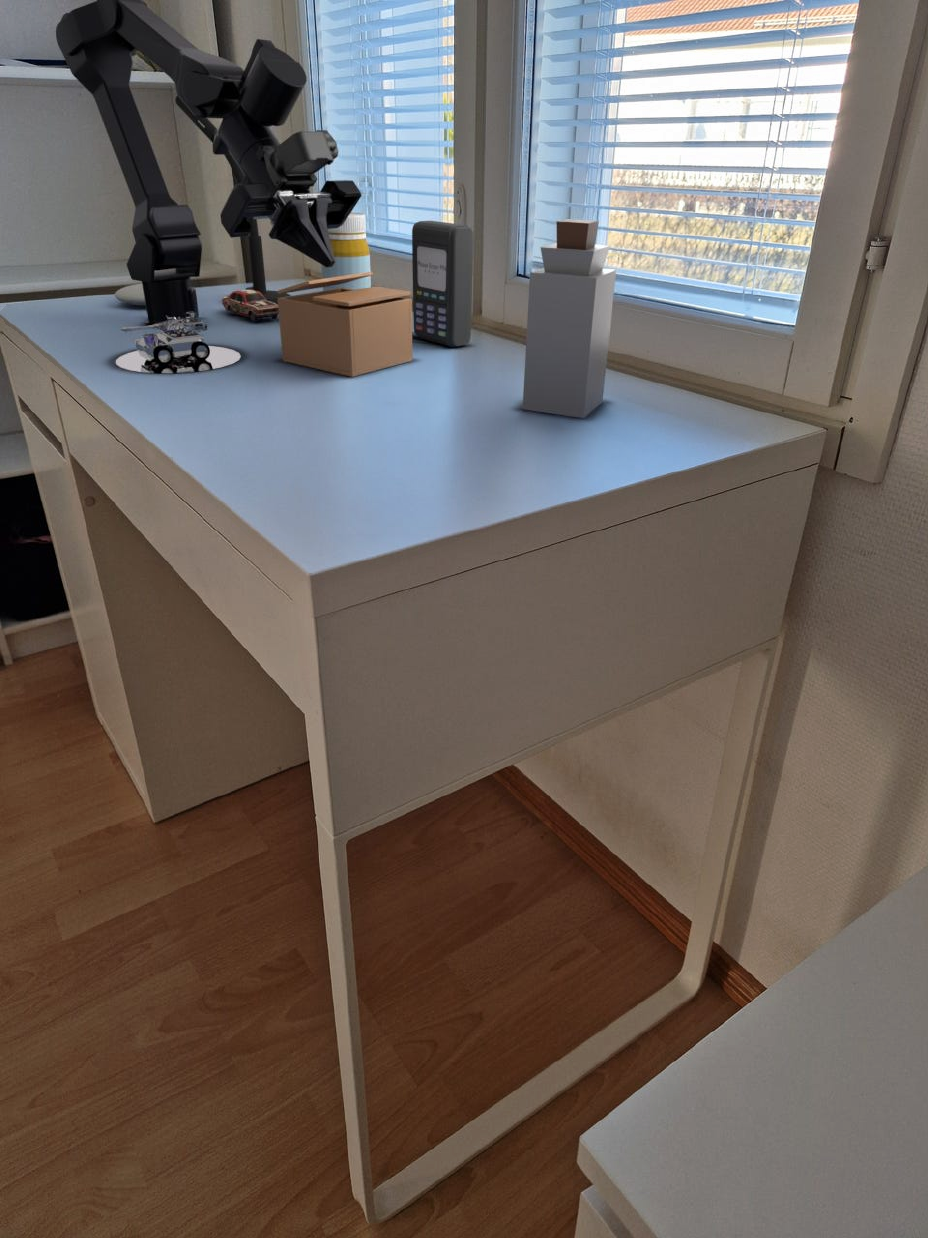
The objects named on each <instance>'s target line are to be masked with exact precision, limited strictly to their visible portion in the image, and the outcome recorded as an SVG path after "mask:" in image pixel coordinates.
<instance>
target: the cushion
mask: <svg viewBox="0 0 928 1238" xmlns="http://www.w3.org/2000/svg"><path fill="white" fill-rule="evenodd" d="M114 298H115V299H116V300H118V301H119V302H122V303H124V304H128V305H134V306H143V307H146V304H145V298H144V291H143V285H142V283H137V284H131V285H127V286H124V287H121V288H120V289H118V290H117V291H115V292H114Z"/></svg>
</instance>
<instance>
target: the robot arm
mask: <svg viewBox="0 0 928 1238" xmlns="http://www.w3.org/2000/svg"><path fill="white" fill-rule="evenodd" d="M55 39H56V43H57V46H58V49H59V50H60V52H61V54H62V56H63V59H64V60H65V62H66V64H67V67H68V68H69V70H70V73H71V75H72V76H73V77H74V78H75V79H76V80H77V81H78V82H79V83H80V85H82V86H83V87H84V88H85V89H86V90H87V91H88V92H89V93H90V94H91V95H92V97H93V99H94V101H95V104H96V107H97V109H98V112H99V115H100V118H101V120H102V123H103V125H104V128H105V130H106V133H107V136H108V138H109V141H110V143H111V147H112V149H113V152H114V154H115V156H116V159H117V162H118V164H119V167H120V170H121V172H122V175H123V178H124V181H125V183H126V186H127V188H128V190H129V194H130V196H131V200H132V201H133V204H134V208H135V209H134V216H133V219H132V220H133V221H132V226H131V231H132V234H133V239H134V241H135V244H134V245H133V248H132V250H131V253H130V255H129V258H128V260H127V262H126V267H127V268H126V269H127V270H128V274H129V276H130V279H131V280H132V281H138V282H141V284H142V285H143V291H144V298H145V304H146V306H145V311H146V315H147V320H146V321H145V322H144V326H148V325H154V324H158V323H159V322H163V321H167V317H166V316H168V317H175V318H178V317H180V319H182V318H186V317H185V316H189V314H187V313H186V312H193V311H194V312H195V314H194V317H196V318H198V319H199V318H200V317H199V316H200V311H199V305H198V298H197V297H198V296H197V291H196V288H195V287H192V283H191V282H192V281H191V278H199V277H200V275H201V264H202V254H203V245H202V241H201V238H200V236H201V234H202V233H201V231H200V230H199V228H198V227H197V223H196V221H195V217H194V214H193V211H192V209H191V208H190V206H189V205H188V204H178V203H177V202H176V201H175V200H174V199H173V198H172V197H171V195H170V192H169V190H168V187H167V184H166V181H165V179H164V177H163V173H162V170H161V168H160V165H159V162H158V160H157V157H156V154H155V152H154V149H153V146H152V143H151V141H150V138H149V135H148V132H147V130H146V127H145V124H144V121H143V119H142V115H141V114H140V111H139V107H138V105H137V102H136V100H135V97H134V95H133V92H132V89H131V86H130V84H131V83H130V82H131V76H132V73H133V72H132V71H133V65H134V62H133V57H132V54H133V53H134V52H136V51H138V52H139V53H140V54H142V55H143V56H144V57H145V58H146V59H147V60H149V61H150V62H151V63H152V64H154V65H155V66H156V67H157V68H158V69H159V70H160V71H162V72H163V73H164V74H165V75H166V76H168V77H169V78H170V79H171V80H172V81H173V83H174V85H175V92H176V96H177V95H178V96H179V98H180V99H181V100H182V101H183V102H184V104H185V105H186V106H187V107H188V108H189V110H190V111H191V112H192V113H193V114H194V115H195V116H197V117H199V118H207V119H222V120H221V122H220V124H219V127H218V128H217V129H215V130H214V141H213V143H212V154H213V155H214V156H216V155H217V156H221V155H222V156H225V155H232V157H233V158H234V160H235V161H236V163H237V164H238V166H239V168H240V169H241V171H242V172H243V174H244V178H243V180H242V182H241V184H238V183H234V184H233V185H234V186H233V188H232V190H231V191H230V194H229V195H228V197H227V199H226V201H225V203H224V206H223V207H222V209H221V211H220V223H221V225H222V226H223V228H224V230H225V231H226V233H227V234H228V236H229V237H230V238H242V237H244V238H245V237H248V236H250V230H251V225H250V224H249V222H248V218H249V217H252V218H253V219H257V220H265V219H266V220H267V219H268V220H270V222H269V223H270V224H271V226H272V227H271V229H270V231H269V232H268V237H269V238H270V239H271V240H277V241H279V242H281V243H283V244H285V245H287V246H288V247H290V248H292V249H294V250H296V251H297V252H300V253H301V254H303V255H305V256H306V257H308V258H309V259H311V260H314V261H315V262H316V263H318V264H320V266H322V265H323V266H325V267H327V268H328V267H332V266H333V265H334V263H335V258H334V254H333V250H332V246H331V242H330V238H329V234H328V229H333V228H339V227H340V226H342V225H343V224H344V222H345V221H346V219H347V217H348V216H349V214H350V213H351V212H353V210H354V209H355V207H356V205H357V204H358V202H359V201H360V200H361V197H362V191H361V190H360V189H359V188H358V186H357V184H356V183H355V181H354V180H351V179H350V180H349V179H339V180H338V179H335V180H326V181H325V182H324V184H323V186H322V187H321V189H320V191H319V192H311V190H310V188H311V187H314V186H315V184H316V183H317V181H318V177H317V176H316V173H317V172H319V171H320V170H322V169H324V168H325V167H326V166H327V165H328V166H330V165H332V164H333V163H334V160H336V159H337V158H338V157H339V149H338V148H339V147H338V143H337V141H336V140H335V139H334V138H333V136H332V134H330V133H329V130H327V129H317V130H315V131H313V130H312V131H311V130H310V131H309V130H302V131H297V132H295V133H293V134H291V135H290V136H289V137H287V138H286V139H285V140H284V141H282V142H280V141H279V139H278V138H277V137H276V135H275V134H274V132H273V130H272V129H271V127H280V126H283V125H284V124H286V121H287V120H288V118H289V117H290V114H291V112H292V111H293V108H294V107H295V105H296V103H297V101H298V99H299V97H300V95H301V93H302V91H303V89H304V87H305V86H306V83H307V81H308V80H307V74H306V71H305V69H304V68H303V66H302V65H301V63H299V61H296V60H295V59H294V58H293V57H292V56H291V55H289V54H288V53H286V52H285V51H283V50H281V49H280V48H277V47H276V46H275V44H274V43H273V41H272V40H269V39H260V38H257V39H256V40H255V41H254V45H253V47H252V50H251V53H250V57H249V59H248V62H247V63H246V66H245V68H244V69H243V68H242V67H241V66H239V65H238V64H235V63H233V62H232V61H230V60H227V59H225V58H224V57H220V56H218V55H214V54H211V53H210V52H209V53H208V52H206V51H204V50H201V49H199V48H198V47H197V46H195V45H194V43H192V42H191V41H189V40H188V39H187V38H186V37H185V36H183V35H182V34H181V33H179V32H178V31H177V30H176V29H175V28H174V27H172V26H171V25H170V24H168V22H166V21H165V20H164V19H163V18H161V17H160V16H159V15H158V14H156V12H154V11H153V10H152V9H150V8H149V7H148V4H147V3H146V1H144V0H94V1H92V2H90V3H87V4H84V5H82V6H79V7H76V8H74V9H72V10H70V11H69V12H65V13H64V14H63V15H62V16H61V19H60V21H59V22H58V23H57V25H56V27H55Z"/></svg>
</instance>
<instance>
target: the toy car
mask: <svg viewBox="0 0 928 1238" xmlns="http://www.w3.org/2000/svg"><path fill="white" fill-rule="evenodd" d="M198 311H199V312H200V311H201V309H200V310H199V309H198ZM186 313H187V314H189V316H185V317H186V318H182V319H180V317H178V318H175V317H168V316H166V317H167V321H163V322H159V323H158V324H154V325H148V326H146V325H140V326H131V327H130V326H129V327H121V328H120V331H121V332H122V333H127V332H133V331H142V330H151V329H152V330H160V331H161V332H159V333H156V334H155V333H148V334H146V333H145V334H142V337H139V338H136V339H134V342H135V347H136V350H135V351H131V352H127V353H125V354H122V355H120V356H119V357H118V358H116V360H115V365H116V366H118V367H119V368H121V369H124V370H127V371H132V372H139V373H150V374H181V373H182V374H183V373H195V372H196V373H197V372H202V371H210V370H215V369H219V368H223V367H226V366H230V365H233V364H234V363H236V362H238V361H240V359H241V354H240V352H238V351H236V350H234V349H231V348H226V347H222V346H213V345H208V343H206V342H204V340H205V339H203V338H204V335H202V334H200V333H201V332H205V331H208V325H207V321H205V320H204V319H201V318H199V317H198V318H196V317H194V314H195V312H194V311H193V312H186ZM205 313H206V312H204V313H203V315H204V314H205ZM203 315H202V316H203Z"/></svg>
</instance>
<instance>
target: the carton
mask: <svg viewBox="0 0 928 1238" xmlns="http://www.w3.org/2000/svg"><path fill="white" fill-rule="evenodd" d="M407 296H412V292H411V291H409V290H403V289H395V288H388V287H381V286H371V287H369V288H363V289H357V290H353V289H346V288H337V289H331V290H324V291H323V290H318V291H313V292H307V293H301V294H293V295H291V296H287V297H281V298H278V310H279V314H278V320H279V331H280V343H281V353H282V355H281V356H282V362H285V363H289V364H295V365H298V366H302V367H307V368H311V369H316V370H321V371H325V372H329V373H334V374H337V375H343V376H346V377H350V378H354V377H357V376H361V375H365V374H368V373H373V372H376V371H379V370H384V369H386V368H390V367H394V366H398V365H402V364H405V363H409V362H413V298H410V297H407Z"/></svg>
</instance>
